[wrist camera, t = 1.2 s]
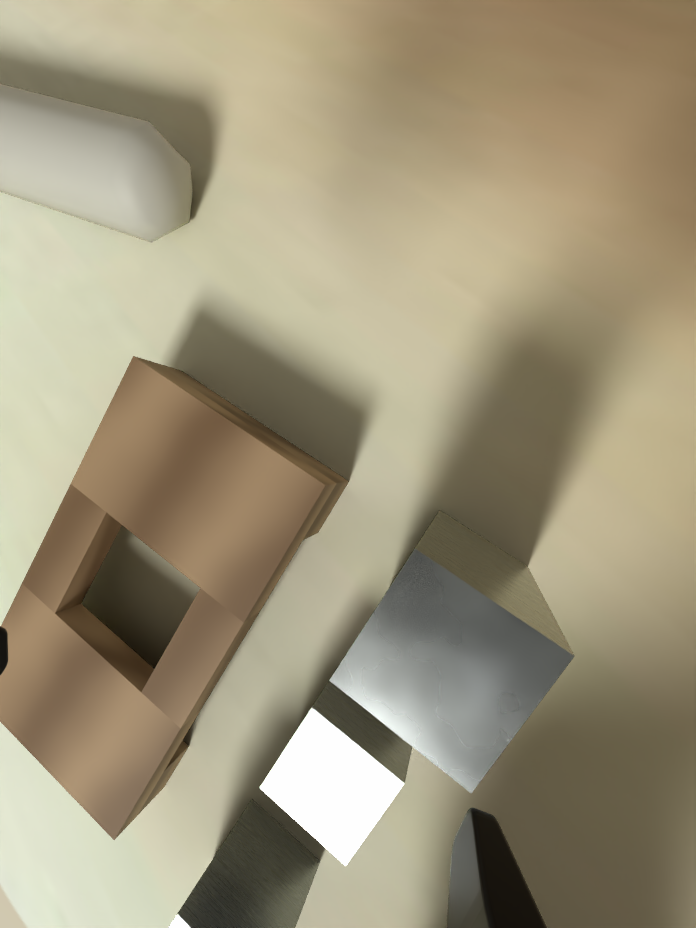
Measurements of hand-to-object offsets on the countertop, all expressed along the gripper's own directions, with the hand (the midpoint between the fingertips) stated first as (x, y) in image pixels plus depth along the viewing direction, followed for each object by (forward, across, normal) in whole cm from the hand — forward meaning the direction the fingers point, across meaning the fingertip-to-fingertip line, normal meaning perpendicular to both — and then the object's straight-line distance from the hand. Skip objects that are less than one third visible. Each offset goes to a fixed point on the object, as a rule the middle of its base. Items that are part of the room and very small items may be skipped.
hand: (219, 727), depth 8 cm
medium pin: (+9, -1, +20) cm, 22 cm away
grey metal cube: (+11, -3, +11) cm, 16 cm away
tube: (+21, +24, -11) cm, 34 cm away
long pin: (+12, -5, +2) cm, 14 cm away
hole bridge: (+13, +8, +8) cm, 18 cm away
